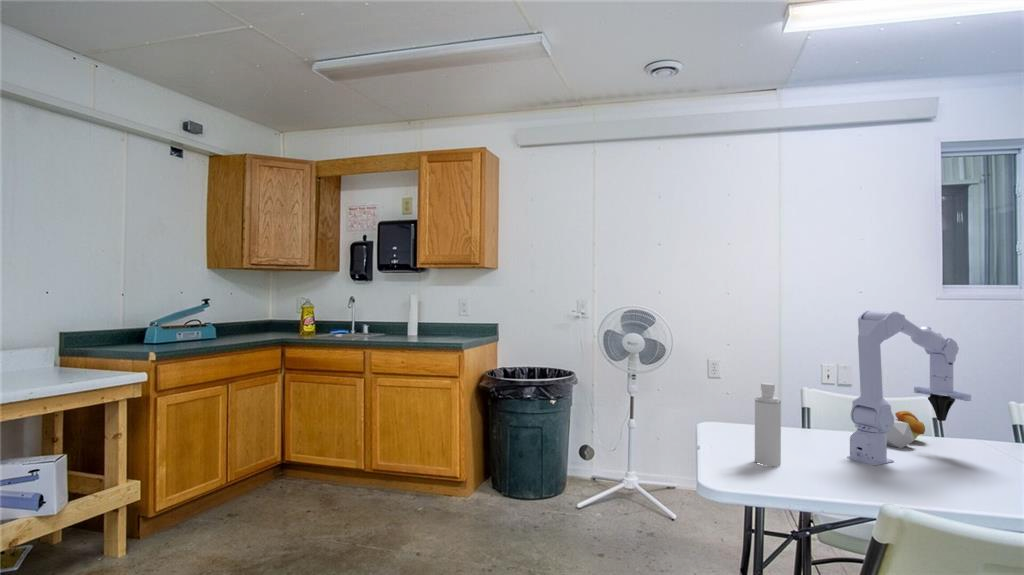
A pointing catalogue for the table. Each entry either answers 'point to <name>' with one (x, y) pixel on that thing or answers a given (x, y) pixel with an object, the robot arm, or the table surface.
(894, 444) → the die
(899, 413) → the cheeseburger
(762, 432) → the grey bottle
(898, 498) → the table surface
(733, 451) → the table surface
